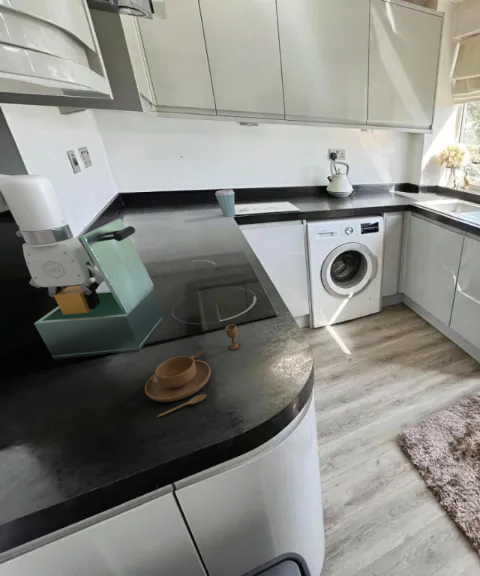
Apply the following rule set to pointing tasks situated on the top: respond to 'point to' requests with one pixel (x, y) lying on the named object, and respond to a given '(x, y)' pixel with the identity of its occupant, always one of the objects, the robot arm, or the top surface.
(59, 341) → the box
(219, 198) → the disposable coffee cup
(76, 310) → the block
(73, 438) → the top surface
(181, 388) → the place setting
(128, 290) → the freezer lid
